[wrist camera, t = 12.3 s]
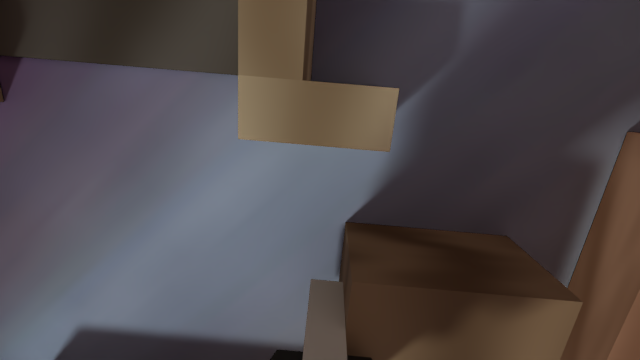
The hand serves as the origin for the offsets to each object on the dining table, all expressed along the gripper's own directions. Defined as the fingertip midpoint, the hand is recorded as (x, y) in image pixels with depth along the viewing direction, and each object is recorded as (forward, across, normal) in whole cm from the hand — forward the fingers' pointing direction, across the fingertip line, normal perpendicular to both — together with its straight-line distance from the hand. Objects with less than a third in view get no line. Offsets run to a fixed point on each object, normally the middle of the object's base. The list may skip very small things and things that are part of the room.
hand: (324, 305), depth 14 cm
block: (+2, +5, -1) cm, 5 cm away
